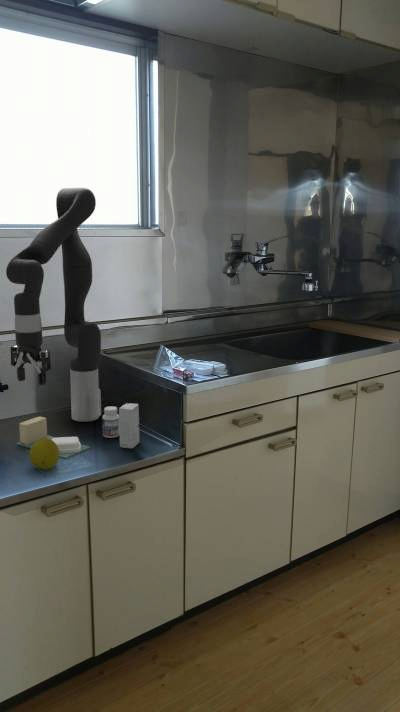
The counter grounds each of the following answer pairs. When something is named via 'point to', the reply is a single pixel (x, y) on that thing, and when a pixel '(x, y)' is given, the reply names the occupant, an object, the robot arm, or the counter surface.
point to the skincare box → (129, 425)
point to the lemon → (44, 454)
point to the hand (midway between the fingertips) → (31, 382)
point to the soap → (67, 444)
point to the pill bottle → (110, 422)
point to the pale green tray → (39, 434)
